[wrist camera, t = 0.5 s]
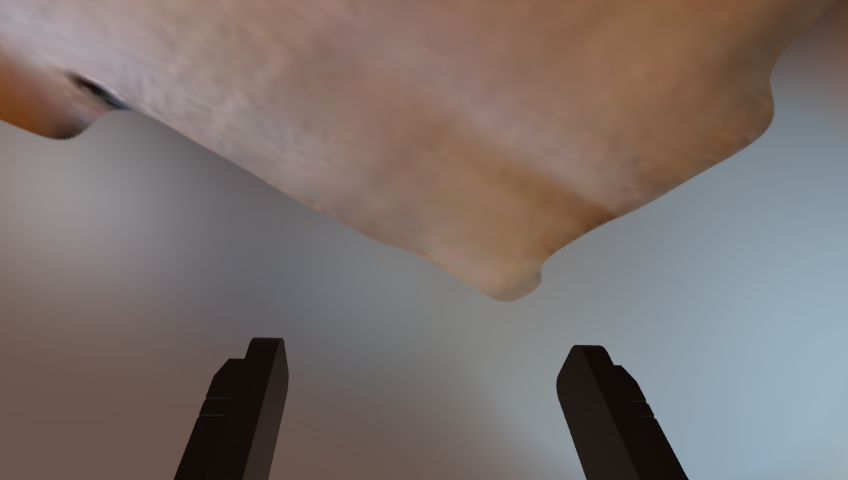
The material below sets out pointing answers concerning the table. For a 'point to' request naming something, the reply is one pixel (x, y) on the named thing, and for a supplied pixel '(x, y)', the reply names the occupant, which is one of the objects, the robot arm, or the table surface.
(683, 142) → the table surface
